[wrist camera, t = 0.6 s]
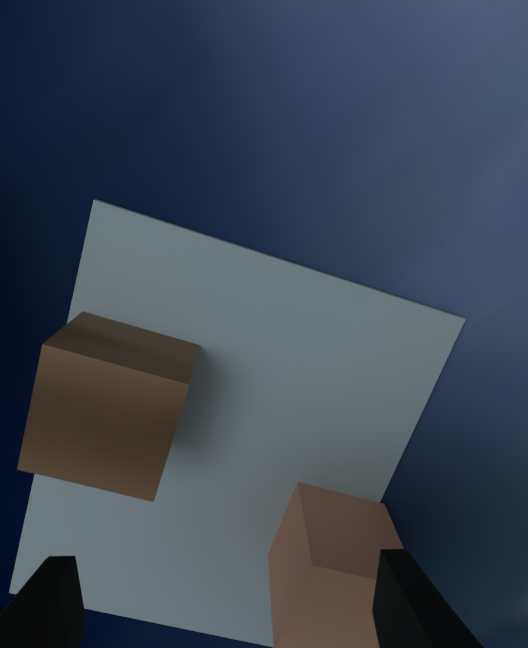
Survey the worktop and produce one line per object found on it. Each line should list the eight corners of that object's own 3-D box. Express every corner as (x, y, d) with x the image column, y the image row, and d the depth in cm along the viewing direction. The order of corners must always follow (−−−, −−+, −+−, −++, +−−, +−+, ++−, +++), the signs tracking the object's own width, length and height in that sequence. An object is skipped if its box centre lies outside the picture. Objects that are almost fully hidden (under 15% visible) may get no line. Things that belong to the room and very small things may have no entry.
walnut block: (170, 443, 21) (153, 502, 17) (59, 415, 21) (17, 469, 17) (200, 345, 20) (189, 384, 16) (82, 311, 19) (42, 344, 15)
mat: (307, 647, 26) (308, 654, 25) (12, 586, 24) (9, 592, 23) (461, 316, 20) (465, 319, 20) (96, 199, 18) (93, 199, 18)
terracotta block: (351, 574, 24) (377, 673, 19) (267, 555, 23) (273, 652, 19) (384, 503, 23) (421, 590, 18) (297, 481, 22) (312, 565, 17)
